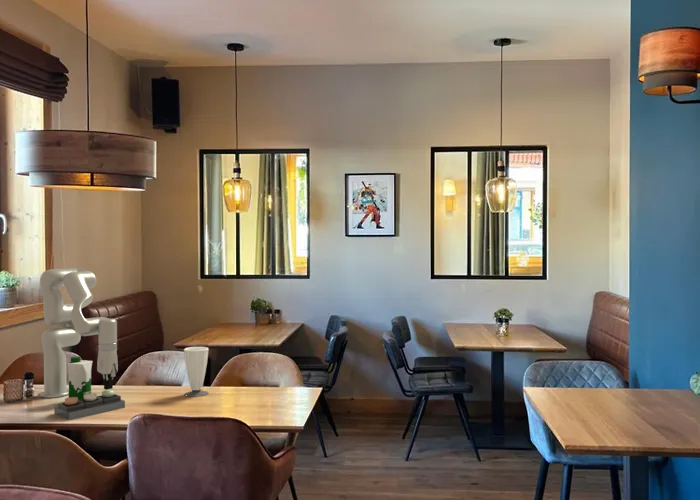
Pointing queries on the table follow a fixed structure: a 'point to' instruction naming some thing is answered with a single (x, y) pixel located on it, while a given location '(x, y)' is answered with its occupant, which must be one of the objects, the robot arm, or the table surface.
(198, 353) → the cup
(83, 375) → the milk carton
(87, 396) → the button cream
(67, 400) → the button terracotta
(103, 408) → the panel
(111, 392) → the button sage
